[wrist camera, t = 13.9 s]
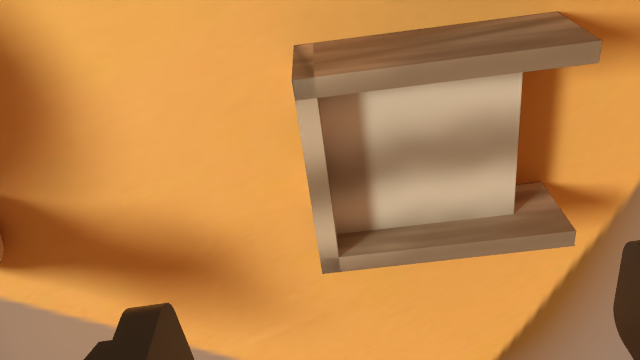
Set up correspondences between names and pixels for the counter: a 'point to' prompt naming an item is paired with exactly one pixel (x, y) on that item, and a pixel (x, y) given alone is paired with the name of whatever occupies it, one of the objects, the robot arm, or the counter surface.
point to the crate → (428, 141)
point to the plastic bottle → (1, 249)
